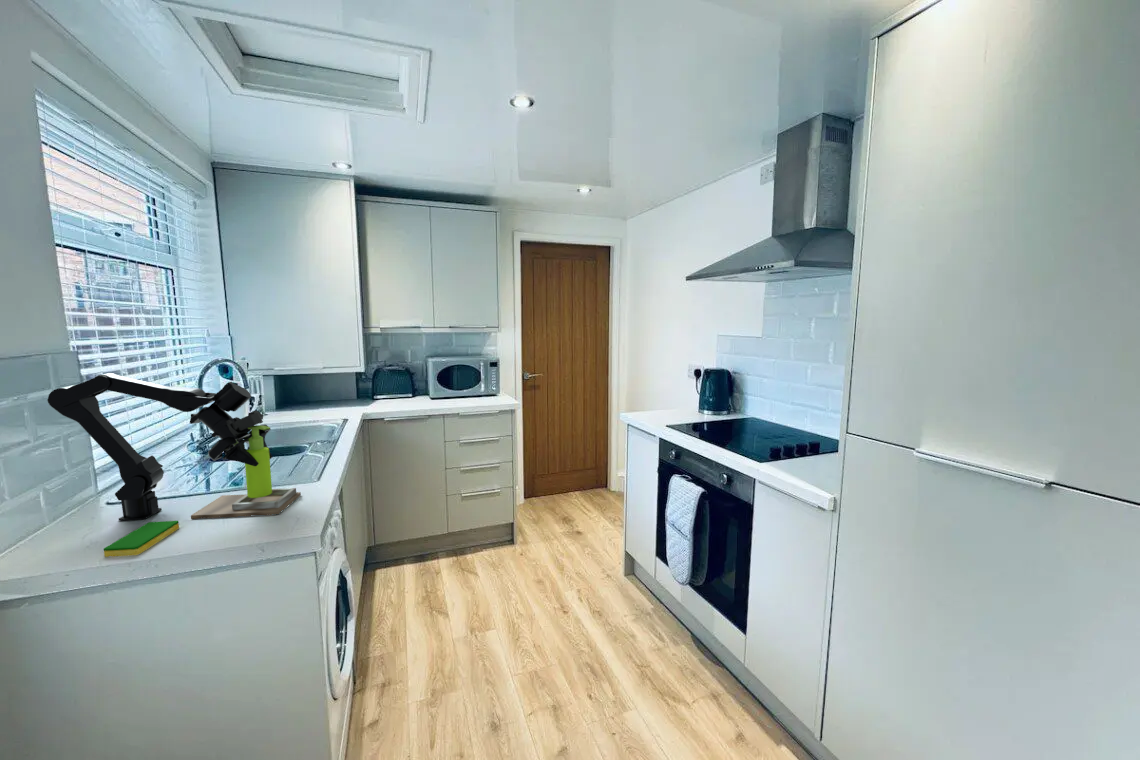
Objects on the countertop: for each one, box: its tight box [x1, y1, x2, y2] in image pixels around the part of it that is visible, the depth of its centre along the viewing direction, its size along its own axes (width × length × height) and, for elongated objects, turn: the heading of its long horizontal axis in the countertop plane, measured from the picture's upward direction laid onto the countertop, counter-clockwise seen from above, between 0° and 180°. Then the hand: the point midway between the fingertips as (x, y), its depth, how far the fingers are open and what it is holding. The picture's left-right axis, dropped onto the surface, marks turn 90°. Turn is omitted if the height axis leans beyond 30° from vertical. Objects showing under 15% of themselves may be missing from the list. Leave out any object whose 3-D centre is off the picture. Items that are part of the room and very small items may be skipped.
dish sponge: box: [103, 520, 180, 558], centre depth 112 cm, size 7×14×2 cm, turn 7°
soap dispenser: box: [244, 424, 273, 498], centre depth 131 cm, size 6×7×20 cm
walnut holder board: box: [190, 487, 301, 520], centre depth 132 cm, size 22×14×3 cm, turn 98°
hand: (264, 461), depth 131 cm, fingers closed on soap dispenser, 6 cm apart
